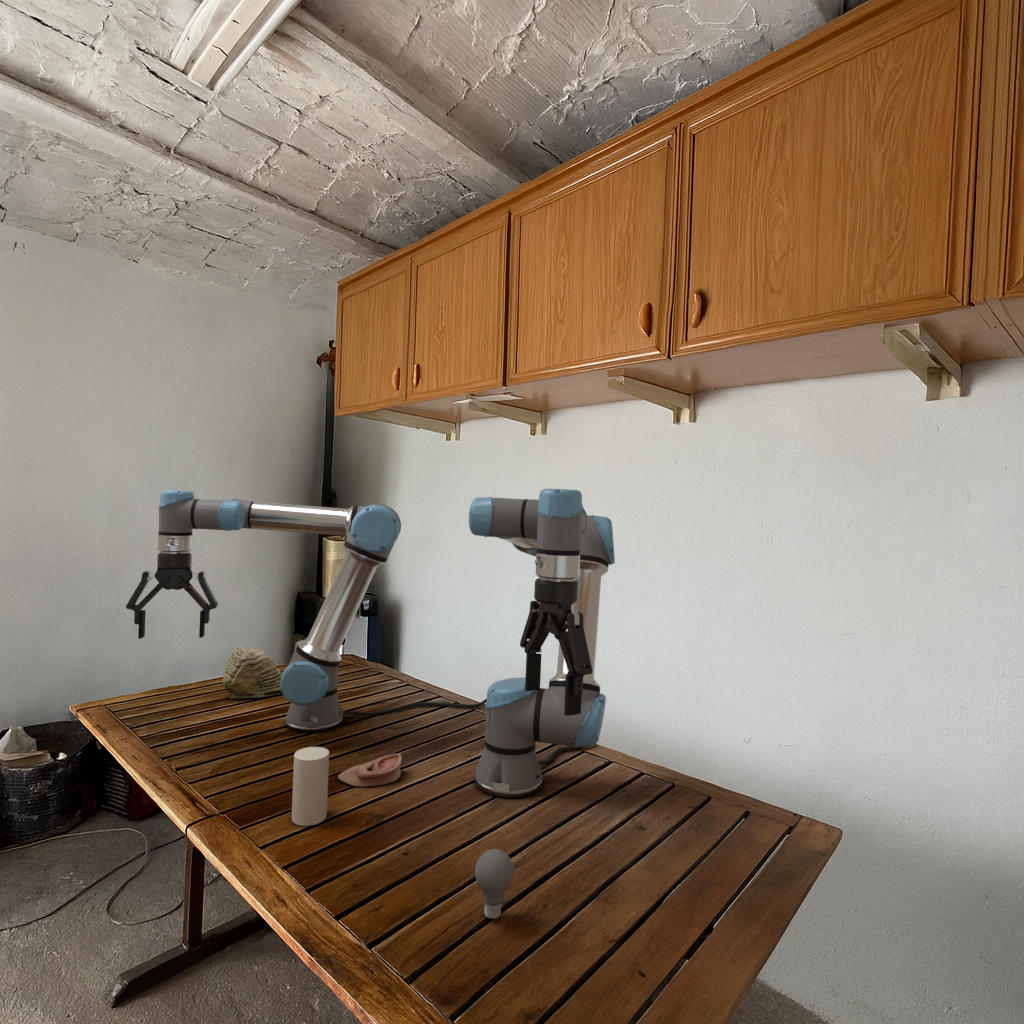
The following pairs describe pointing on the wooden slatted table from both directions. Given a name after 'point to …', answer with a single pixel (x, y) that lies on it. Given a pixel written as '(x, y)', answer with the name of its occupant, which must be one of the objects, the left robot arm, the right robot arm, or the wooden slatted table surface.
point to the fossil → (251, 674)
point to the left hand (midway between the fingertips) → (172, 637)
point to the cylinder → (310, 786)
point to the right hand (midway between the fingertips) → (551, 701)
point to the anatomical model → (373, 772)
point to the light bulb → (494, 879)
